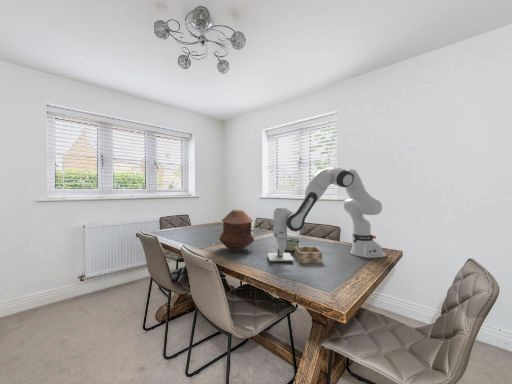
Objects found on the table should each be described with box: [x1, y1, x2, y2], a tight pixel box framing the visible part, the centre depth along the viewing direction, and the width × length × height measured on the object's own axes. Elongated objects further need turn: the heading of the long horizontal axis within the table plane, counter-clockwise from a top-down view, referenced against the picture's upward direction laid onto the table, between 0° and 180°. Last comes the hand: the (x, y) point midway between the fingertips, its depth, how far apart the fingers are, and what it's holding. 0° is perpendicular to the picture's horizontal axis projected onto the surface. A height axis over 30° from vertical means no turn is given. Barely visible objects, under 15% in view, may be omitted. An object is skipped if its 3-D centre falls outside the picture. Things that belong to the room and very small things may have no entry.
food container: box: [283, 237, 301, 254], centre depth 167 cm, size 12×6×10 cm, turn 84°
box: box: [294, 246, 323, 264], centre depth 150 cm, size 14×14×7 cm
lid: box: [267, 248, 295, 262], centre depth 149 cm, size 15×15×5 cm
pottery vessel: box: [218, 209, 255, 253], centre depth 173 cm, size 26×26×30 cm
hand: (280, 254), depth 149 cm, fingers closed on lid, 3 cm apart
